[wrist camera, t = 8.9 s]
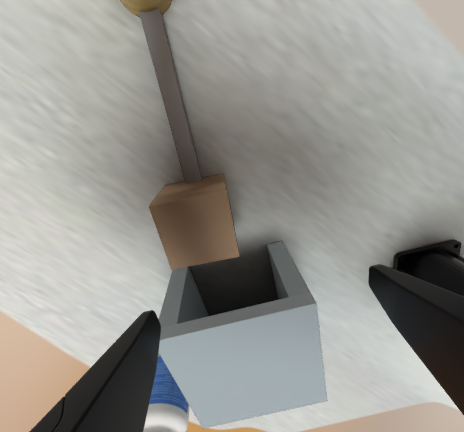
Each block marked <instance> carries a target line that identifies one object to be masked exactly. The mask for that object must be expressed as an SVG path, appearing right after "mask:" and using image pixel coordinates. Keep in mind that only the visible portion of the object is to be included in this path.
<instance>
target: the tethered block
mask: <svg viewBox="0 0 464 432" xmlns="http://www.w3.org/2000/svg"><path fill="white" fill-rule="evenodd" d="M121 1H122V3H123V4H124V5H125V6H126V8H127V9H128V10H129V11H131V12H132V13H133V14H135V15H137V16H138V17H141V21H142V24H143V28H144V32H145V35H146V39H147V43H148V46H149V50H150V54H151V57H152V61H153V65H154V68H155V72H156V76H157V79H158V83H159V87H160V91H161V94H162V98H163V102H164V105H165V109H166V113H167V116H168V120H169V124H170V127H171V131H172V135H173V138H174V142H175V146H176V149H177V153H178V157H179V160H180V164H181V168H182V171H183V175H184V179H185V181H183V182H178V183H173V184H168V185H165V186H164V187H163V188H162V190H161V191H160V192H159V194H158V195H157V196H156V198H155V199H154V200H153V202H152V203H151V204H150V206H149V208H150V211H151V214H152V216H153V219H154V222H155V225H156V228H157V230H158V233H159V236H160V239H161V242H162V244H163V247H164V250H165V253H166V256H167V258H168V261H169V264H170V267H171V269H172V270H173V269H178V268H183V267H188V266H193V265H199V264H204V263H209V262H214V261H220V260H225V259H230V258H235V257H239V251H238V246H237V240H236V235H235V229H234V224H233V219H232V213H231V208H230V203H229V198H228V193H227V188H226V183H225V178H224V174H219V175H214V176H209V177H204V178H201V174H200V170H199V166H198V162H197V158H196V153H195V149H194V145H193V141H192V137H191V133H190V128H189V124H188V120H187V116H186V112H185V108H184V103H183V99H182V95H181V91H180V87H179V83H178V78H177V74H176V70H175V66H174V62H173V58H172V53H171V49H170V45H169V41H168V37H167V33H166V28H165V24H164V20H163V16H162V14H164V13H165V12H166V11H167V9H168V8H169V6H170V4H171V2H172V0H121Z"/></svg>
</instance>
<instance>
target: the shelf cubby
mask: <svg viewBox="0 0 464 432" xmlns="http://www.w3.org/2000/svg"><path fill="white" fill-rule="evenodd" d="M267 247H268V252H269V257H270V262H271V266H272V271H273V276H274V281H275V286H276V291H277V295H278V300H275V301H271V302H267V303H263V304H258V305H254V306H250V307H246V308H242V309H237V310H233V311H229V312H225V313H221V314H216V315H212V316H208V313H207V311H206V308H205V306H204V303H203V301H202V298H201V296H200V293H199V291H198V288H197V286H196V283H195V281H194V278H193V276H192V273H191V270H190V268H189V266H188V267H183V268H178V269H173V271H172V274H171V278H170V281H169V285H168V289H167V292H166V296H165V299H164V303H163V306H162V310H161V314H160V317H159V322H160V324H161V335H160V344H159V354H160V356H161V357H162V359H163V361H164V362H165V364H166V366H167V368H168V369H169V371H170V373H171V374H172V376H173V378H174V380H175V381H176V383H177V385H178V386H179V388H180V390H181V392H182V393H183V395H184V397H185V398H186V400H187V402H188V404H189V405H190V407H191V409H192V411H193V412H194V414H195V416H196V417H197V419H198V421H199V423H200V424H201V426H202V428H203V429H204V428H208V427H213V426H217V425H222V424H226V423H231V422H235V421H240V420H244V419H249V418H253V417H258V416H262V415H267V414H271V413H276V412H280V411H285V410H289V409H294V408H298V407H303V406H307V405H312V404H316V403H321V402H325V401H328V400H327V392H326V383H325V374H324V365H323V357H322V348H321V339H320V330H319V321H318V313H317V304H316V302H315V300H314V298H313V296H312V294H311V292H310V291H309V289H308V287H307V285H306V283H305V282H304V280H303V278H302V276H301V274H300V273H299V271H298V269H297V267H296V265H295V263H294V262H293V260H292V258H291V256H290V254H289V253H288V251H287V249H286V247H285V245H284V244H283V242H282V241H279V242H275V243H271V244H267Z"/></svg>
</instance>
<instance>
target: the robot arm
mask: <svg viewBox="0 0 464 432" xmlns="http://www.w3.org/2000/svg"><path fill="white" fill-rule="evenodd" d="M460 248H461V242H459V241H457V240H451V241H447V242H443V243H439V244H435V245H431V246H427V247H422V248H418V249H414V250H410V251H406V252H402V253H399V254H397V255H396V256H395V265H394V269H392V268H390V267H387V266H384V265H382V264H378V265H373V266H371V267H370V268H369V286H370V288H371V290H372V291H373V293H374V294H375V296H376V298H377V299H378V301H379V302H380V304H381V306H382V307H383V309H384V310H385V312H386V314H387V315H388V317H389V318H390V320H391V321H392V323H393V324H394V325H395V327H396V328H397V330H398V331H399V332H400V333H401V335H402V336H403V337H404V339H405V340H406V341H407V342H408V344H409V345H410V346H411V348H412V349H413V350H414V352H415V353H416V354H417V355H418V357H419V358H420V359H421V361H422V362H423V363H424V364H425V366H426V367H427V368H428V370H429V371H430V372H431V373H432V375H433V376H434V377H435V379H436V380H437V381H438V383H439V384H440V385H441V386H442V388H443V389H444V390H445V392H446V393H447V394H448V395H449V397H450V398H451V399H452V401H453V402H454V403H455V405H456V406H457V407H458V408H459V410H460V411H461V412H462V414H463V415H464V258H462V257H461V256H459V253H460ZM160 335H161V324H160V322H159V320H158V318H157V316H156V313H155V312H154V311H153V310H151V311H146V312H143V313H142V314H141V315H140V316H139V317H138V318H137V319H136V320H135V321H134V322H133V323H132V325H131V326H130V327H129V328H128V329H127V330H126V331H125V332H124V333H123V334H122V335H121V336H120V337H119V338H118V339H117V340H116V342H115V343H114V344H113V345H112V346H111V347H110V348H109V349H108V350H107V351H106V352H105V353H104V354H103V355H102V356H101V357H100V358H99V360H98V361H97V362H96V363H95V364H94V365H93V366H92V367H91V368H90V369H89V370H88V371H87V372H86V373H85V374H84V375H83V376H82V378H81V379H80V380H79V381H78V382H77V383H76V384H75V385H74V386H73V387H72V388H71V389H70V390H69V391H68V392H67V393H66V395H65V397H63V398H62V399H61V400H60V401H59V402H58V403H57V404H56V405H55V406H54V407H53V408H52V409H51V410H50V411H49V412H48V413H47V414H46V415H45V417H43V418H42V420H41V421H40V422H39V423H38V424H37V425H36V426H35V427H34V428H33V429H32V430H31V431H30V432H143V430H144V426H145V421H146V416H147V412H148V407H149V402H150V398H151V393H152V388H153V383H154V379H155V374H156V369H157V362H158V353H159V344H160Z"/></svg>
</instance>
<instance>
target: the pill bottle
mask: <svg viewBox="0 0 464 432" xmlns="http://www.w3.org/2000/svg"><path fill="white" fill-rule="evenodd" d="M189 406H190V405H189V404H188V402H187V400H186V398H185V397H184V395H183V393H182V392H181V390H180V388H179V386H178V385H177V383H176V381H175V380H174V378H173V376H172V374H171V373H170V371H169V369H168V368H167V366H166V364H165V362H164V361H163V359H162V357H161V356H160V354H159V353H158V362H157V369H156V374H155V379H154V383H153V388H152V393H151V398H150V402H149V407H148V412H147V416H146V421H145V426H144V430H143V432H186V430H187V427H188V418H189Z"/></svg>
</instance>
